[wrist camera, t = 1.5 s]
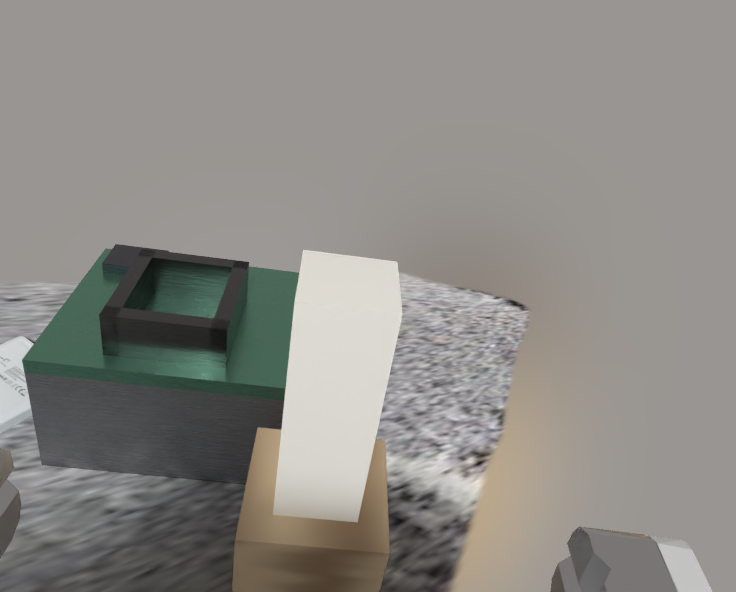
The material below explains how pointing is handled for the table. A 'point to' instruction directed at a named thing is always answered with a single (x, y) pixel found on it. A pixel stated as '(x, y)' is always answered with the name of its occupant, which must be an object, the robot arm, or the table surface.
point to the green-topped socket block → (163, 366)
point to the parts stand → (308, 534)
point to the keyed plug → (335, 383)
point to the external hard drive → (13, 383)
